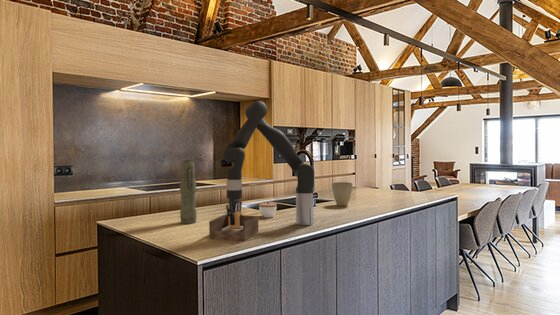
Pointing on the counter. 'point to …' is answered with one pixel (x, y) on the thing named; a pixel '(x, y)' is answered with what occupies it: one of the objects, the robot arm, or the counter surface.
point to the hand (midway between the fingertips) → (234, 223)
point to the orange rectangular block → (237, 221)
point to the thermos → (188, 193)
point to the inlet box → (222, 231)
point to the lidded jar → (267, 209)
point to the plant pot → (342, 192)
